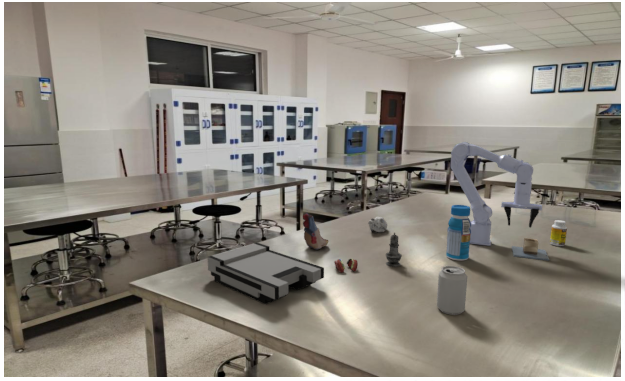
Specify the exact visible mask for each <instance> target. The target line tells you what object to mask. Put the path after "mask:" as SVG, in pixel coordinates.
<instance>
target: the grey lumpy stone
mask: <svg viewBox="0 0 625 381" xmlns="http://www.w3.org/2000/svg"><path fill="white" fill-rule="evenodd" d="M367 222H368V223H367V224H368V227H369V230H370V231H371V232H376V233H385V231H386V230H387V229H388V223H387V220H385V219H384V217H383V216H375V217H374V218H371V219H369V220H368V221H367Z"/></svg>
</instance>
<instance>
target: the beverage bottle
mask: <svg viewBox="0 0 625 381" xmlns="http://www.w3.org/2000/svg"><path fill="white" fill-rule="evenodd" d="M450 209H451V210H450V214H451V217H450V218H449V220H448V223H447V225H448V227H447V229H446V230H447V235H446V252H445V256H446V257H447V259H449V260H453V261H460V262H461V261H462V262H463V261H467V260H468V259H469V257H470V235H471V229H470V227H471V222H470V221H471V220H470V218H469V217H470V215H471V206H468V205H464V204H452V205H451V207H450Z"/></svg>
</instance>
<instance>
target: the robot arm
mask: <svg viewBox="0 0 625 381" xmlns="http://www.w3.org/2000/svg"><path fill="white" fill-rule="evenodd" d="M450 157H451V158H450V168H451V171H452V173H453V175H454V176H455V178H456V181H457V182H458V183H459V185H460V187H461V190H462V191H463V192H464V195H465V197H466V198H467V200H468V202H469V204H470V210H471V211H472V214H473V215H472V217H473V218H472V221H471V220H470V222H471V227H470V229H471V235H470V244H471V245H480V246H488V247H489V246H492V241H491V231H492V220H490V218H491V217H492V215H493V210H492V207H490V206H489V205H488V204H487V203H486V201H485V200H483V198H482V197H481V194H480V193H479V191H478V190H477V188H476V186H475V184H474V181H473V180H472V179H471V176H470V175H469V173H468V171H467V169H466V168H465V164H466V161H467V160H468V158H469V157H480V158H483V159H485V160H488V161H490V162H493V163H496V164H497V165H496V166H497V167H498V168H499V169H502V170H503V171H506V172H509V173H511V174H516V181H515V186H514V187H515V188H514V197H513V198H514V199H513V202H512V201H502V202H501V204H500V205H501V208H503V209H504V212H505V214H506V217H507V226H509V227H510V226H511V215H512V209H521V210H522V209H524V210H530V213H529V214H530V215H529V222H528V227H529V228H530V229H531V228H532V226H533V223H534V220H535V219H536V217H537V216H538V214H540V213H539V212H540V211H541V212H542V211H543V205H542V204H537V203H536V204H535V203H531V194H532V187H533V186H532V184H533V182H532V181H533V177H532V176H533V174H534V167H533V165H532V164H531V163H529V162H525V161H524V160H522V159H521V160H519V159H517V158H514V157H513V155H512V154H508V155H507V154H503V155H499V154H497V153H494V152H493V151H490V150H489V149H486V148H484V147H483V146H479V145H477V144H473V143H470V142H468V141H467V142H466V141H462V142H459V143H457V144H455V145H454V146H453V148H452V149H451V152H450Z"/></svg>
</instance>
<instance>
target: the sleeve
mask: <svg viewBox="0 0 625 381" xmlns="http://www.w3.org/2000/svg"><path fill="white" fill-rule="evenodd" d="M522 247H523V252H524V253H525V254H533V255H537V252H538V249H539V240H538V239H537V238H529V237H523V245H522Z"/></svg>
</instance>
